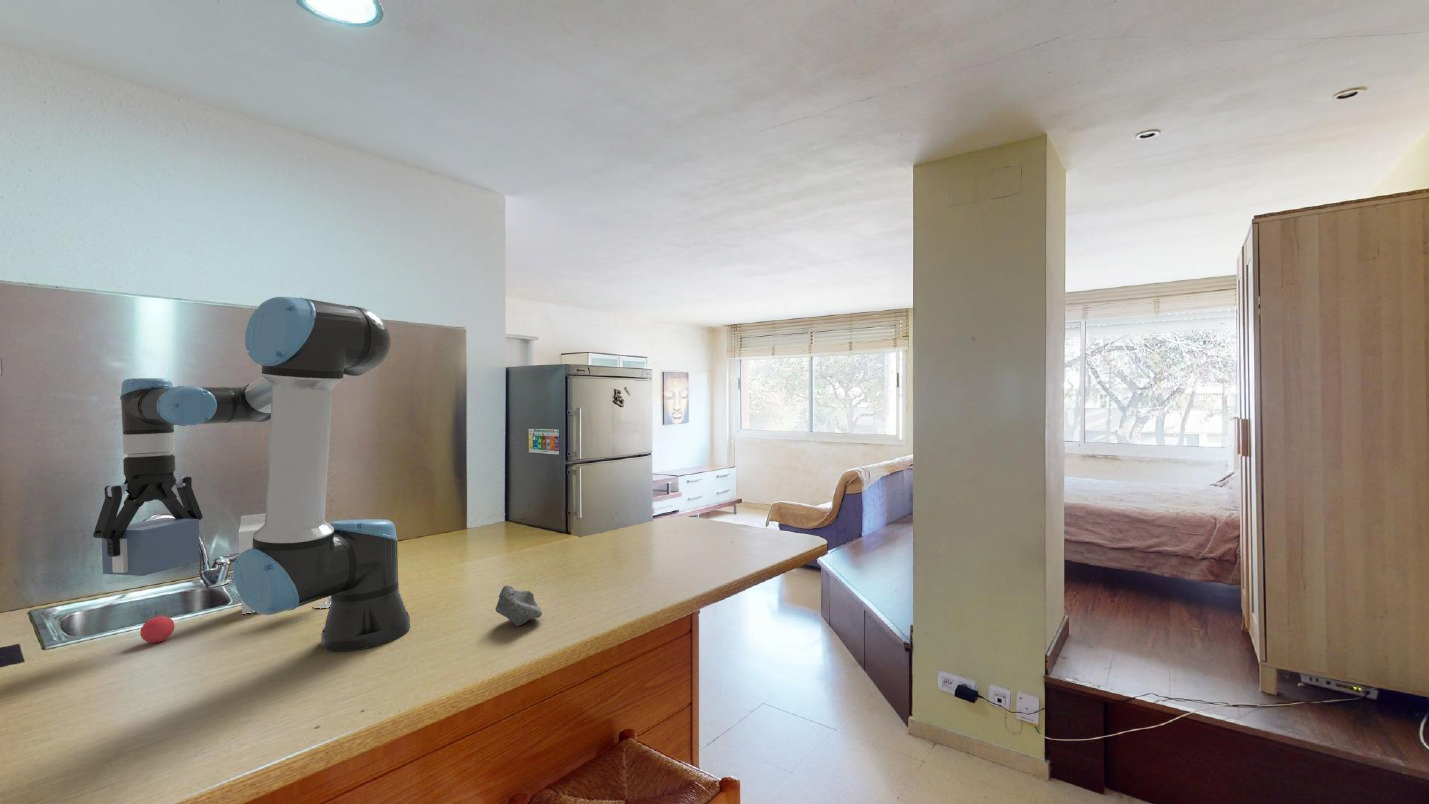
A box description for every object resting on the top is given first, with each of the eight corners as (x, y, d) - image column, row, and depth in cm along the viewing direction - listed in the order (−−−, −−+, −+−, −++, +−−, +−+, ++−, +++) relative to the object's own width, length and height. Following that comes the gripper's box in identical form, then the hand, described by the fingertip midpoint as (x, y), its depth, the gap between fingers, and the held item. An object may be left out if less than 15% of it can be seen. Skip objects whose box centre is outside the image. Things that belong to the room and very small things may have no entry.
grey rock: (548, 627, 116) (546, 587, 116) (500, 638, 112) (499, 596, 112) (536, 611, 126) (534, 574, 126) (491, 620, 121) (490, 582, 121)
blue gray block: (200, 561, 122) (198, 519, 122) (143, 576, 112) (141, 530, 112) (161, 559, 124) (160, 518, 124) (102, 573, 114) (101, 529, 114)
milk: (274, 609, 134) (270, 514, 134) (241, 615, 131) (237, 518, 131) (278, 602, 140) (275, 510, 140) (246, 607, 137) (243, 513, 137)
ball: (159, 615, 121) (165, 639, 120) (130, 625, 116) (137, 649, 115) (177, 609, 120) (183, 633, 119) (149, 618, 115) (156, 643, 114)
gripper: (195, 449, 130) (198, 548, 130) (62, 460, 107) (66, 580, 107) (222, 449, 128) (225, 549, 128) (92, 460, 106) (96, 582, 106)
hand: (152, 564), depth 118 cm, fingers closed on blue gray block, 10 cm apart
